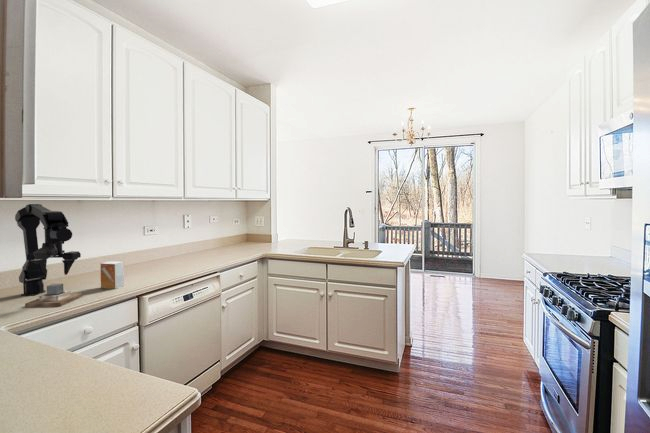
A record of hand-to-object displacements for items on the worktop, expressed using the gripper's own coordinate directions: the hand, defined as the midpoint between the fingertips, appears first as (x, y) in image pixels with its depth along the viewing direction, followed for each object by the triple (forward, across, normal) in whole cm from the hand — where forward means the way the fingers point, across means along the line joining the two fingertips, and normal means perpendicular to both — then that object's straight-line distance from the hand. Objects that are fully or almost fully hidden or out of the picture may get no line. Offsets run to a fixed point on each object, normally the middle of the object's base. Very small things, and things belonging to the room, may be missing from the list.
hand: (54, 274), depth 139 cm
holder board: (+12, 0, 0) cm, 12 cm away
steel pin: (+10, 0, 0) cm, 10 cm away
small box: (+12, +12, +22) cm, 28 cm away
